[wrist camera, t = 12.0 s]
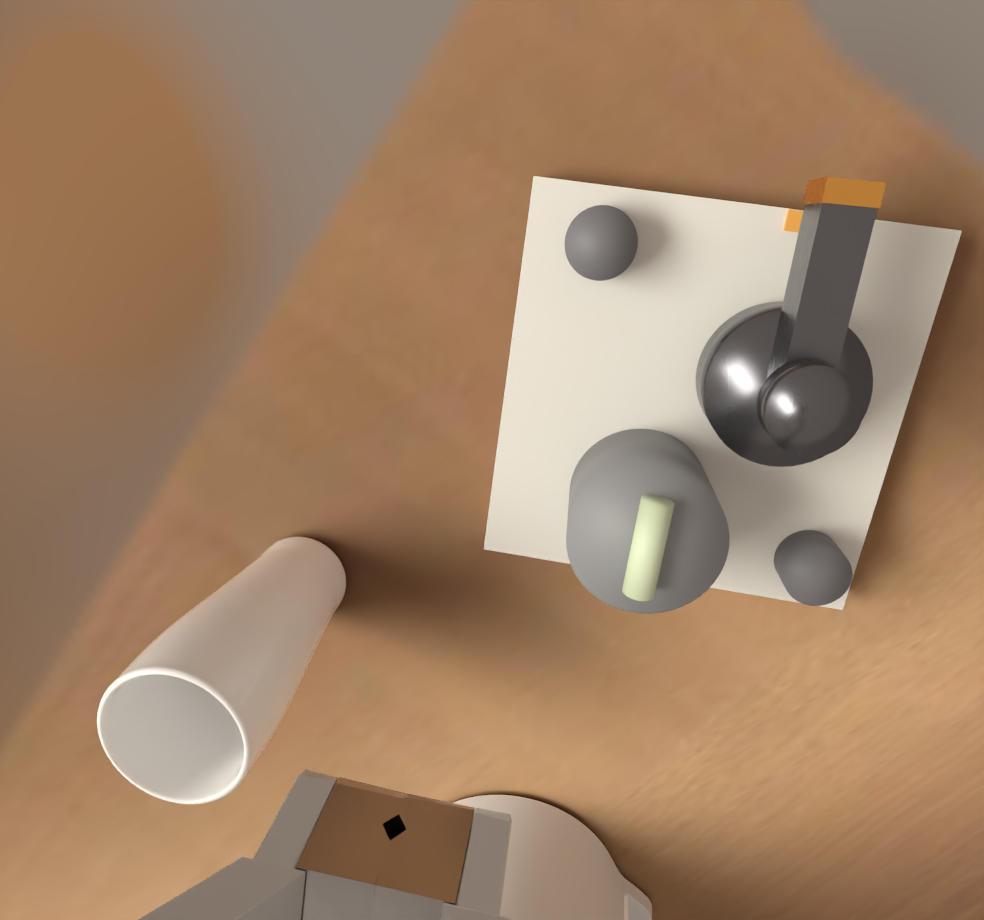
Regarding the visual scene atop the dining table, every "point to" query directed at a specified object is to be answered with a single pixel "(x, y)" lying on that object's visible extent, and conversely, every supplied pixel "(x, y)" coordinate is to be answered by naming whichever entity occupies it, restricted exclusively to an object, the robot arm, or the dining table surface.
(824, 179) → the knob
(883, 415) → the base
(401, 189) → the dining table surface
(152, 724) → the drinking glass
